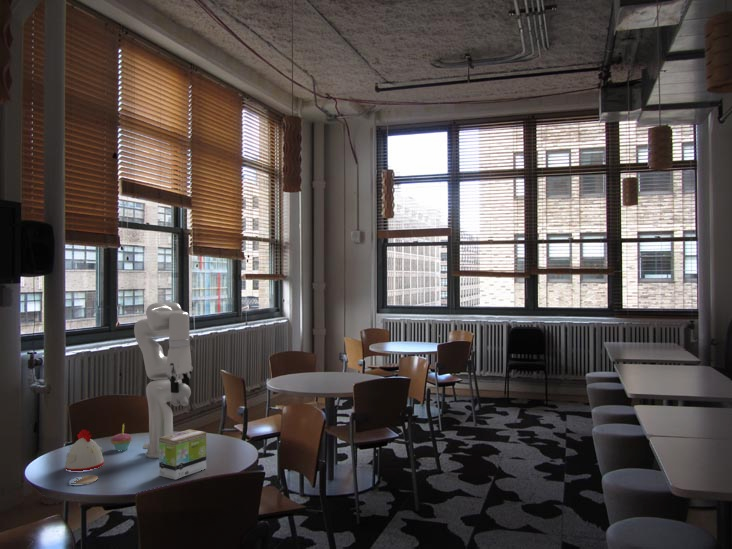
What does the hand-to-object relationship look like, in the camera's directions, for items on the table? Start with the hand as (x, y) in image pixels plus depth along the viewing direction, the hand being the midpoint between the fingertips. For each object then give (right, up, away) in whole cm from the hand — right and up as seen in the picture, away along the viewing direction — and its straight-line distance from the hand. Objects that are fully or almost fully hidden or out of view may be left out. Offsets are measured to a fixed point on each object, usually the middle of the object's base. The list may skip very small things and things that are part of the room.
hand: (180, 390), depth 228 cm
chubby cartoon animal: (0, -6, +2) cm, 6 cm away
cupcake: (-36, -33, +33) cm, 59 cm away
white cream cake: (-41, -33, +9) cm, 53 cm away
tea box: (+1, -32, 0) cm, 32 cm away
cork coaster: (-34, -32, -8) cm, 47 cm away
